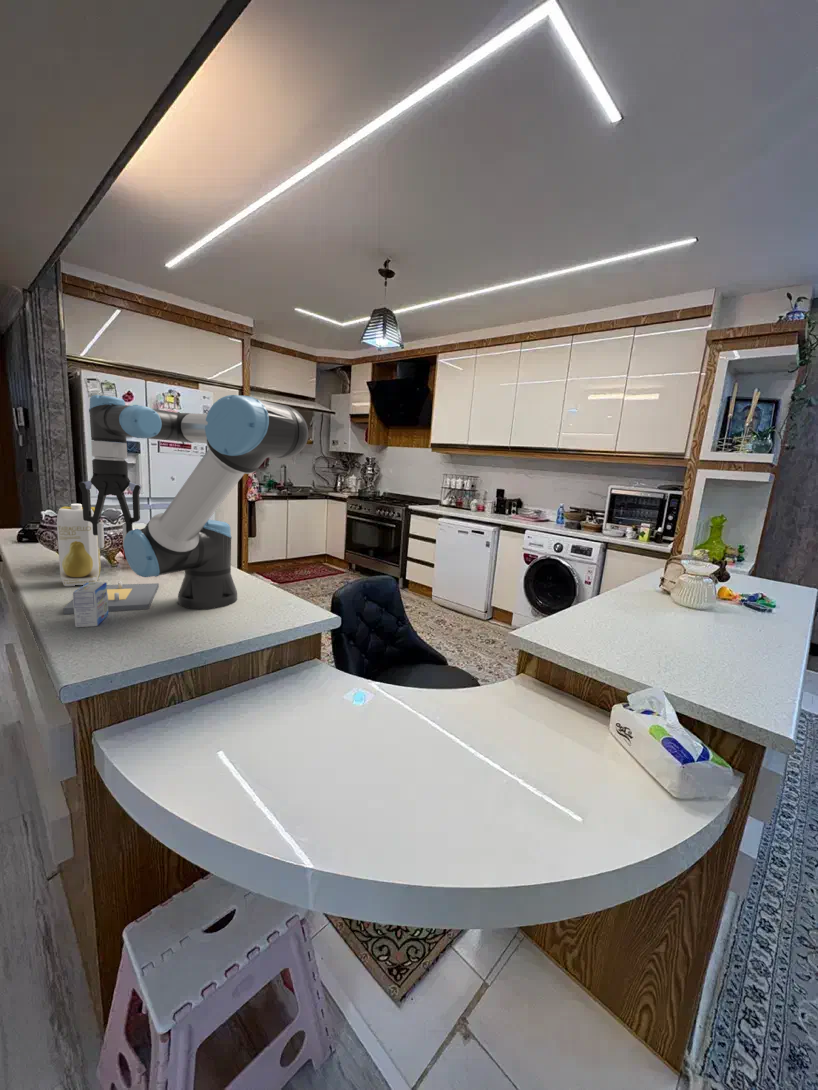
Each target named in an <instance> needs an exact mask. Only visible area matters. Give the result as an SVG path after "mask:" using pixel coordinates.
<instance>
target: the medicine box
mask: <svg viewBox="0 0 818 1090" xmlns="http://www.w3.org/2000/svg"><path fill="white" fill-rule="evenodd" d="M107 585H108V583H107V582H105V581H97V582H90V583H86V584H84V585H83V586H79V587H78V588H77V589H75V590H74V591H73V592H72V599H73V604H74V614H73V615H74V624H75V628H90V627H98V626H99V625H100V624H101V623H102V622H103V621H104V620H105V619H106V618H107V617H108V616H109V612H108V598H107Z"/></svg>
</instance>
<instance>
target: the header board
mask: <svg viewBox="0 0 818 1090" xmlns="http://www.w3.org/2000/svg"><path fill="white" fill-rule="evenodd" d="M159 585H160V584H159V582H156V583H128V584H127V583H126V584H124V583H123V581H117V584H107V598H108V613H109V612H121V611H122V612H123V611H135V610H136V611H139V610H148V609H149V610H150V607H151V605H152V603H153V601H154V599H155V596H156V594H157V592H158V590H159ZM63 615H74V604H73V598H72V599H71V600H70V602H68V603H67V604H66V605H65V606H64V607H63Z"/></svg>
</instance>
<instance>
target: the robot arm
mask: <svg viewBox="0 0 818 1090" xmlns="http://www.w3.org/2000/svg"><path fill="white" fill-rule="evenodd" d="M88 413H89V424H90V425H89V426H90V437H91V438H90V439H91V443H90V444H91V446H90V447H91V457H94V458H93V459H92V460H91V462H92V465H91V467H92V476H91V479H90V480H88V481H80V482H78V487H79V490H80V491H81V500H82V507H83V519H84V520H85V521H89V522H91V523H92V525H93V535H98V548H100V549H103V548H104V547H105V534H104V531H105V530H104V522H102V521H101V517H102V512H103V509H104V505H105V501H106V498H107V496H110V495H111V496H116V499H117V501H118V504H119V506H120V509H121V512H122V517H123V519H124V521H125V522H124V523H122V546H123V547H122V548H123V550H124V555H125V559H126V561H127V564H128V565H129V567H130V569H131V570H132V571H133V572H134V573H135V575H137V576H139V577H142V578H151V577H154V578H155V577H156V578H157V577H159V576H163V575H164V576H165V575H168V574H172V573H173V574H174V573H178V572H182V571H184V577H183V579H182V582H181V586H180V588H179V591H178V593H177V601H178V602H177V604H178V605H179V606H181V607H183V608H187V609H190V610H191V609H192V610H212V609H214V610H215V609H220V608H225V607H228V606H230V605H233V604H235V603H236V602H237V600H238V590H237V588H236V585H235V583H234V579H233V576H232V571H231V570H232V569H231V567H232V562H231V560H232V534H231V531H232V529H231V526H230V524H229V523H227V522H226V521H221V520H214V519H210V518H212V516H213V515H214V513H215V512H217V510H218V508H219V507H220V506H221V504H222V503H223V502H224V501H225V499H226V498H227V497H228V495H230V494H231V492H232V490H233V489H234V488H235V487H236V485H237V484H238V483H239V481H240V480H241V479H242V478H243V476H245V474H247V475H249V474H250V475H252V474H253V473H255V472H256V471H257V470H259V468H260V467H261V465H262V464H263V463H264V462H265V461H266V459H267V458H268V459H269V458H272V459H288V458H293V457H294V456H297V455H298V454H300V452H302V450H304V448H305V447H306V445H307V443H308V440H309V429H308V428H309V427H308V424H307V422H306V420H305V418H304V417H303V415H302V414H301V413H300V412H299V411H298V410H296V409H295V408H293V407H292V406H289V405H285V404H280V403H275V402H271V401H267V400H262V399H258V398H256V397H253V396H249V395H238V394H229V395H224V396H222V397H220V398H219V399H217V400H216V401H215V402H214V403H213V404H212V405H211V407H210V408H209V410H208V412H207V413H189V412H175V411H170V410H169V411H168V410H165V409H163V410H162V409H158V408H157V409H156V408H152V407H149V406H145V405H139V404H133V405H126V402H125V400H124V399H123V398H120V397H117V396H116V397H115V396H111V395H110V396H109V395H98V394H95V395H94V394H93V395H91V396H90V398H89V409H88ZM127 438H135V439H147V440H148V439H150V440H161V441H162V440H163V441H173V442H181V443H188V444H189V443H190V444H192V443H195V444H196V443H198V444H206V446H207V451H206V452H205V453H204V454H203V456H202V458H201V459H200V461H198V463H197V465H196V466H195V468H194V469H193V470H192V472H191V474H190V475H189V476H188V477H187V479H186V480H185V482H184V484H182V486H181V488H180V489H179V491H178V492H177V494H175V496H174V497H173V500H172V501H171V502H170V503H169V505H168V507H167V508H166V509H165V510H164V512H161V513H157V514H155V515H154V516H152V517H151V518H150V519H149V521H148V523H147V524H146V525H145V527H143V528H135V529H133V523H137V522H139V521H140V520H141V510H140V509H141V506H140V505H141V504H140V492H141V489H142V485H141V484H139V483H138V484H136V483H135V482H132V481H131V480H130V477H129V474H128V472H129V471H128V470H129V468H128V462H127V460H125V459H128V447H127V446H128V445H127V444H128V443H127V442H128V441H127ZM92 486H93V487H94V488H95V489H96V490H97V491H98V492H97V493H98V494H97V499H96V502H95V506H94V507H95V510H94V514H93V517H92V516H91V507H92V506H91V505H92V502H91V498H92V497H91V489H92ZM128 487H130V488H129V489H130V491H131V492H132V515H131V511H130V508H129V506H128V503H127V500H126V496H125V493H124V492H125V491H126V490H127V489H128Z"/></svg>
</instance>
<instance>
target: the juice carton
mask: <svg viewBox="0 0 818 1090" xmlns="http://www.w3.org/2000/svg"><path fill="white" fill-rule="evenodd" d="M94 510H95V506H91V516H92V517H93V514H94ZM56 531H57V547H58V560H59V561H58V562H59V575H60V578H61V581H62V584H63V586H64V587H76V586H75V585H84V584H86V583H90V582H99V578H100V574H101V571H102V570H101V569H102V567H101V566H102V565H101V548H98V535H93V525H92V523H91V522H89V521H85V520H84V519H83V504H81V503H70V506H61V507H60V508H58V510H57V515H56Z"/></svg>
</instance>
